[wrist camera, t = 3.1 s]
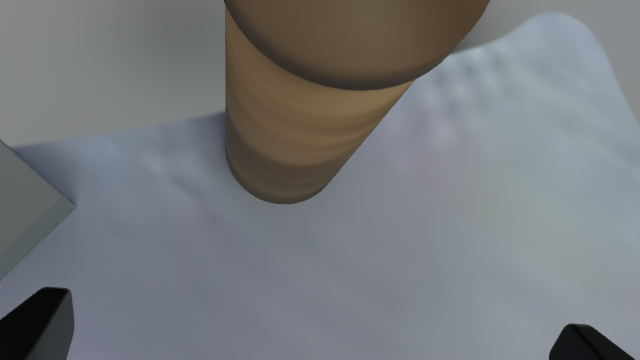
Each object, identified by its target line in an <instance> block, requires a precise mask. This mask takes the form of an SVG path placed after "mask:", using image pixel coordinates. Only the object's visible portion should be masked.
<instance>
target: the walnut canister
mask: <svg viewBox="0 0 640 360" xmlns="http://www.w3.org/2000/svg"><path fill="white" fill-rule="evenodd" d="M489 1H490V0H224V2H225V10H226V11H225V15H226V16H225V21H226V22H225V25H226V26H225V28H226V29H225V31H226V32H225V35H226V36H225V37H226V39H225V41H226V42H225V44H226V157H227V161H228V165H229V167H230V170H231V172H232V174H233V175H234V177H235V179H236V180H237V181H238V182H239V184H240V185H241V186H242V187H243V188H244V189H245V190H247V191H248V192H249V193H250V194H252V195H254V196H255V197H257V198H259V199H262V200H264V201H267V202H271V203H276V204H293V203H298V202H302V201H304V200H307V199H309V198H311V197H313V196H315V195H316V194H318V193H319V192H320V191H321V190H322V189H323V188H324V187H325V186H326V185H327V184H328V183H329V182H330V181H331V180H332V178H333V177H334V176H335V175H336V174H337V172H338V171H339V170H340V169H341V168H342V166H343V165H344V164H345V163H346V162H347V160H348V159H349V158H350V157H351V156H352V155H353V153H354V152H355V151H356V150H357V149H358V147H359V146H360V145H361V144H362V143H363V141H364V140H365V139H366V138H367V137H368V135H369V134H370V133H371V132H372V131H373V129H374V128H375V127H376V126H377V125H378V124H379V122H380V121H381V120H382V119H383V118H384V116H385V115H386V114H387V113H388V112H389V110H390V109H391V108H392V107H393V106H394V104H395V103H396V102H397V101H398V100H399V99H400V97H401V96H402V95H403V94H404V93H405V91H406V90H407V89H408V88H409V87H410V85H411V84H412V83H413V82H414V81H415V79H417V78H418V77H420V76H422V75H424V74H426V73H428V72H429V71H430V70H432V69H433V68H435V67H436V66H437V65H439V64H440V63H441V62H442V61H443V60H444V59H445V58H446V57H447V56H448V55H449V54H450V53H451V52H452V51H453V50H454V49H455V47H456V46H457V45H458V44H459V43H460V42H461V41H462V40H463V38H464V37H465V36H466V35H467V34H468V33H469V32H470V31H471V30H472V28H473V27H474V26H475V24H476V23H477V21H478V20H479V19H480V18H481V16H482V14H483V13H484V11H485V9H486V7H487V5H488V3H489Z"/></svg>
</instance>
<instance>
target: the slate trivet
mask: <svg viewBox="0 0 640 360" xmlns="http://www.w3.org/2000/svg"><path fill="white" fill-rule="evenodd" d="M76 207H77V206H76V205H74V204H73V203H72V202H71V201H70V200H69V199H68V198H66V197H65V196H64V195H63V194H62V193H61V192H60V191H58V190H57V189H56V188H55V187H54V186H53V185H52V184H50V183H49V182H48V181H47V180H46V179H45V178H44V177H42V176H41V175H40V174H39V173H38V172H37V171H36V170H35V169H33V168H32V167H31V166H30V165H29V164H28V163H27V162H25V161H24V160H23V159H22V158H21V157H20V156H19V155H17V154H16V153H15V152H14V151H13V150H12V149H11V148H9V147H8V146H7V145H6V144H5V143H4V142H3V141H1V140H0V280H1V279H2V278H3V277H4V276H5V275H6V274H7V273H8V272H9V271H10V270H11V269H12V268H13V267H14V266H15V265H16V264H17V263H18V262H20V261H21V260H22V259H23V258H24V257H25V256H26V255H27V254H28V253H29V252H30V251H31V250H32V249H33V248H34V247H35V246H36V245H37V244H38V243H39V242H40V241H41V240H42V239H43V238H44V237H45V236H46V235H48V234H49V233H50V232H51V231H52V230H53V229H54V228H55V227H56V226H57V225H58V224H59V223H60V222H61V221H62V220H63V219H64V218H65V217H66V216H67V215H68V214H69V213H70V212H71V211H72V210H73V209H74V208H76Z"/></svg>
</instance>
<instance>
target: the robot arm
mask: <svg viewBox="0 0 640 360" xmlns="http://www.w3.org/2000/svg"><path fill="white" fill-rule="evenodd" d="M73 333H74V313H73V303H72V294H71V292H70V290H69V289H67V288H58V287H43V288H41V289H40V290H38V291H37V292H36V293H34V294H33V295H32V296H30V297H29V298H28V299H27V300H25V301H24V302H23V303H21V304H20V305H19V306H17V307H16V308H15V309H14V310H12V311H11V312H10V313H8V314H7V315H6V316H5V317H3V318H2V319H1V320H0V360H66V358H67V355H68V351H69V348H70V344H71V341H72V337H73ZM549 360H635V359H634V358H632V357H631V356H630V355H629V354H627V353H626V352H625V351H623V350H622V349H621V348H619V347H618V346H617V345H615V344H614V343H613V342H611V341H610V340H609V339H608V338H606V337H605V336H604V335H602V334H601V333H600V332H598V331H597V330H596V329H594V328H593V327H592V326H589V325H586V324H568V325H566V326H565V327H564V328H563V330H562V332H561V333H560V335H559V337H558V338H557V340H556V342H555V344H554V345H553V347H552V349H551V351H550V354H549Z"/></svg>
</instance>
